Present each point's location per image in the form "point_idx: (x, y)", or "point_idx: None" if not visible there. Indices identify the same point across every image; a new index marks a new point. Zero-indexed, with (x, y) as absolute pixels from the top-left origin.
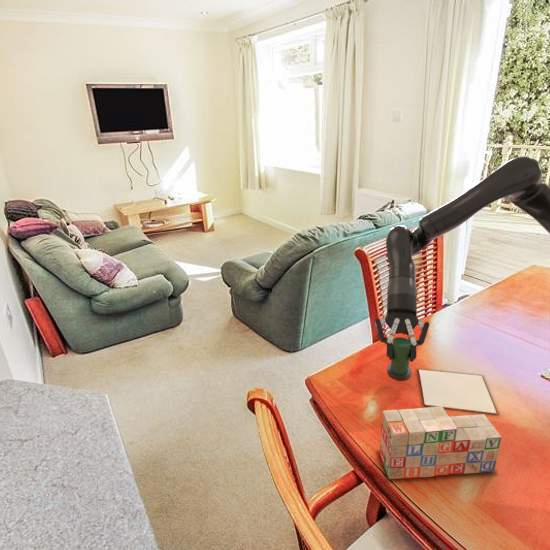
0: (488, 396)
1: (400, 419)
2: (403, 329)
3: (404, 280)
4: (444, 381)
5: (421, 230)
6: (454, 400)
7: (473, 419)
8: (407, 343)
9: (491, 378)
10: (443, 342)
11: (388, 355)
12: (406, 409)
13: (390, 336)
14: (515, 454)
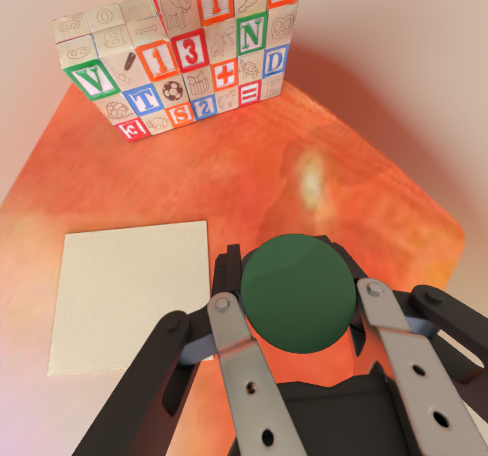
0: (61, 286)
1: None
2: (324, 415)
3: None
4: (151, 319)
5: None
6: (141, 250)
7: (93, 49)
8: (263, 280)
9: (26, 373)
10: None
11: (333, 244)
12: None
13: (391, 319)
14: (74, 147)
